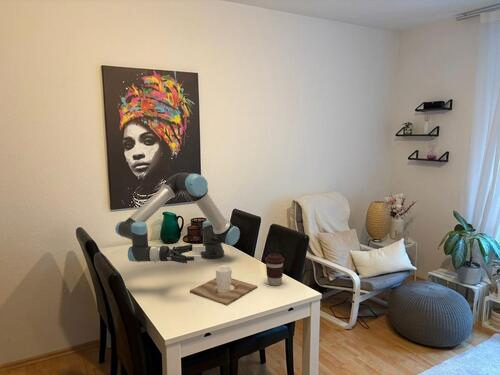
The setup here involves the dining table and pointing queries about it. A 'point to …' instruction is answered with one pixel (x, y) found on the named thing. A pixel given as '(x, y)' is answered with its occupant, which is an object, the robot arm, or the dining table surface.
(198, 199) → the robot arm
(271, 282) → the coffee cup
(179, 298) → the dining table surface
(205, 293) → the brown flat square piece
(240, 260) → the dining table surface
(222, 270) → the white cup
